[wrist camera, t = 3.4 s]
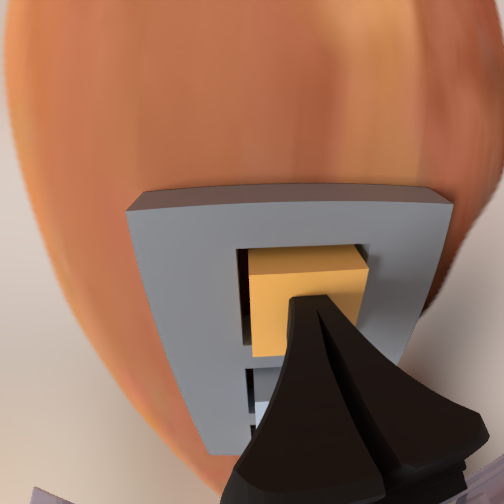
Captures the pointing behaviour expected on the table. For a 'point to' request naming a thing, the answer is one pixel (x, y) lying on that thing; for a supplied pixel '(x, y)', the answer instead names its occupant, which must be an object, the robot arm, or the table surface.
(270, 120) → the table surface
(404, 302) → the button board
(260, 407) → the slate-blue button
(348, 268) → the orange button
